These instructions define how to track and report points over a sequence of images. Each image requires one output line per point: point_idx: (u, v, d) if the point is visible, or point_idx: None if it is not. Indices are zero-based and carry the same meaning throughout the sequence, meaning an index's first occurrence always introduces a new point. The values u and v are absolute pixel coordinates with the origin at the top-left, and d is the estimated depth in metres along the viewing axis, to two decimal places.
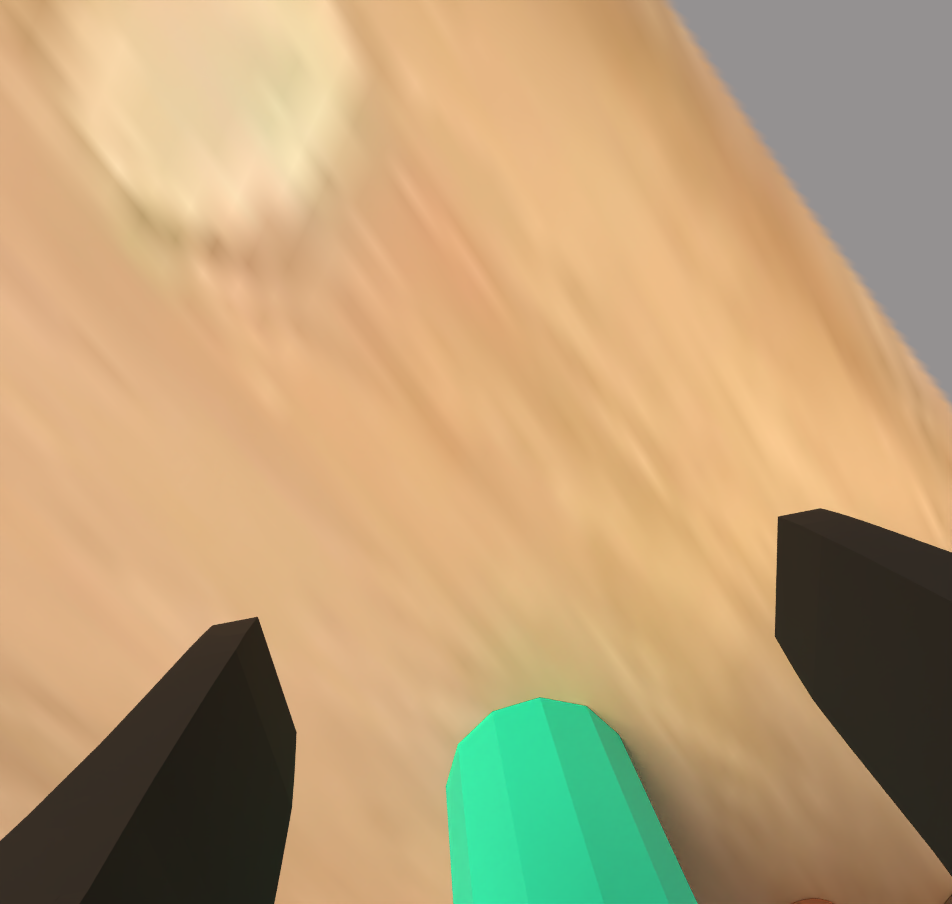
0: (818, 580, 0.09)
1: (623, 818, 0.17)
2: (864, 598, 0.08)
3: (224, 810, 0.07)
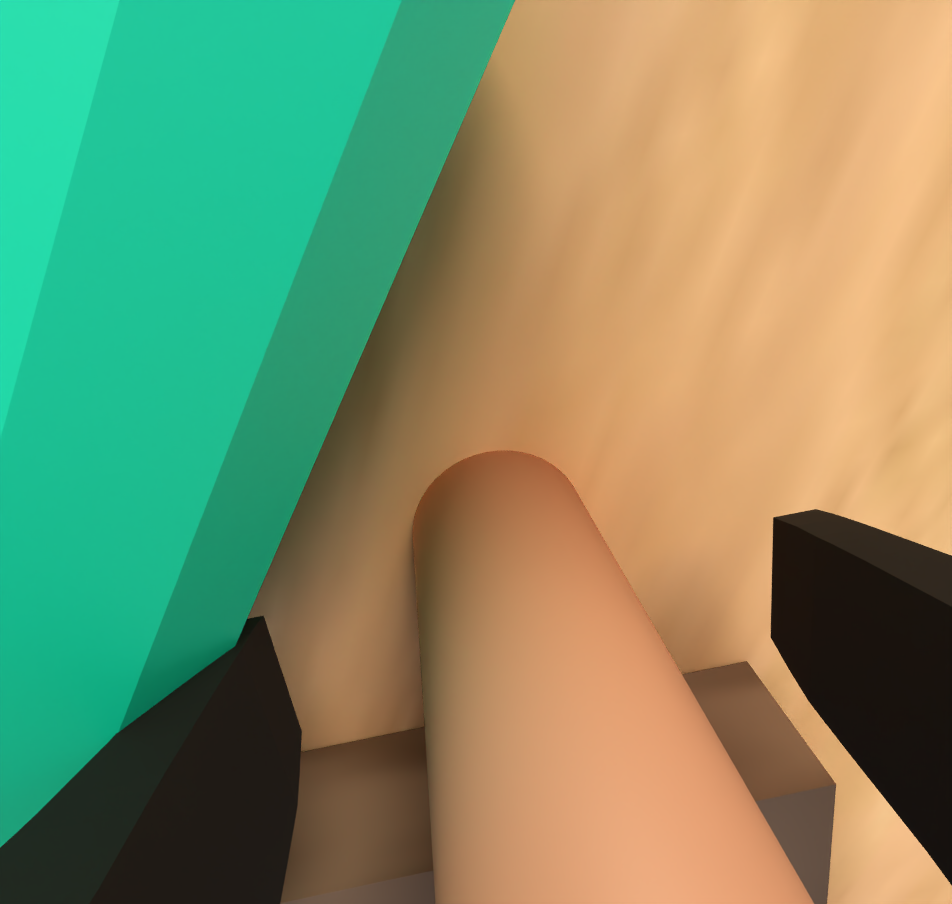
0: (813, 581, 0.09)
1: (220, 378, 0.05)
2: (858, 599, 0.08)
3: (232, 808, 0.07)
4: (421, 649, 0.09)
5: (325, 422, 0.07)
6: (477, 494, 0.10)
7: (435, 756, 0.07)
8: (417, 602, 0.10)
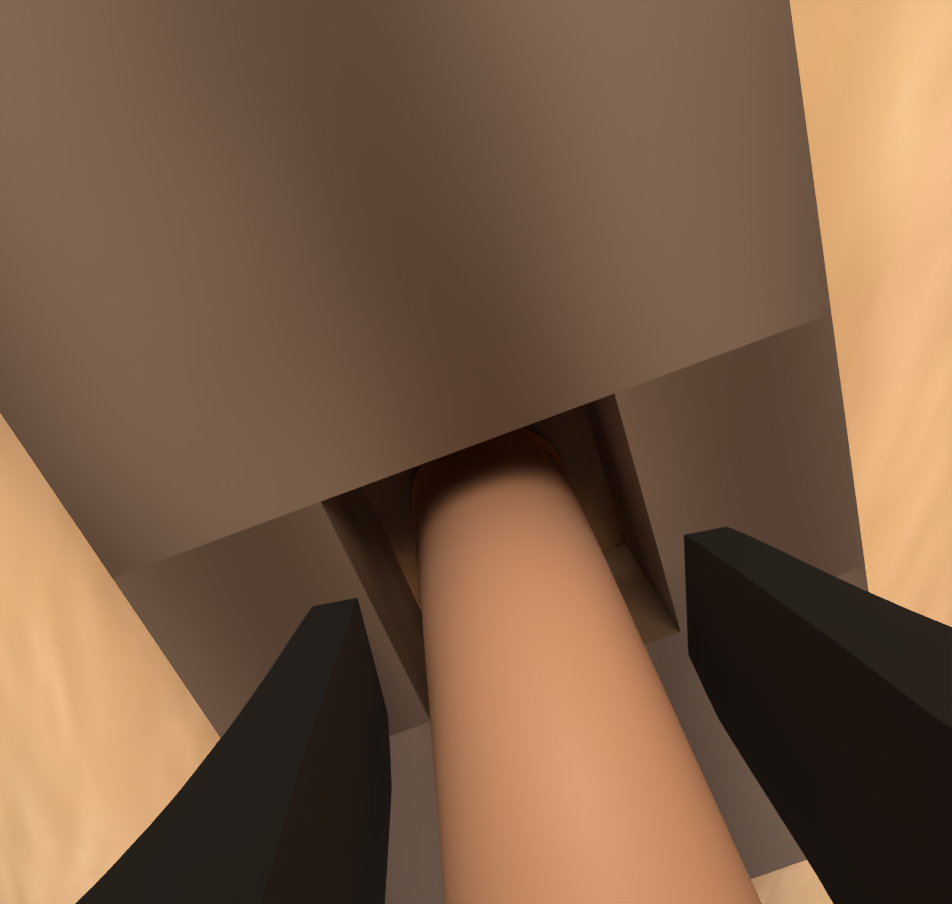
0: (716, 600, 0.08)
1: None
2: (751, 621, 0.08)
3: (350, 784, 0.07)
4: (423, 609, 0.10)
5: None
6: (472, 469, 0.11)
7: (437, 705, 0.08)
8: (418, 563, 0.11)
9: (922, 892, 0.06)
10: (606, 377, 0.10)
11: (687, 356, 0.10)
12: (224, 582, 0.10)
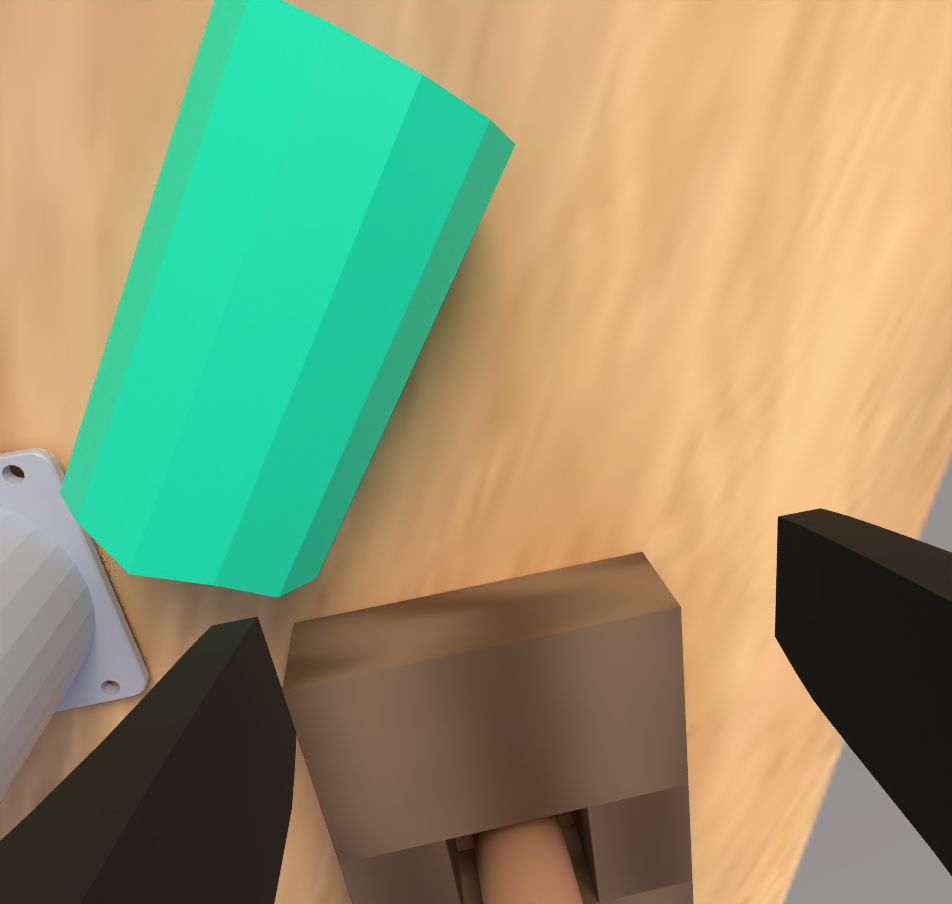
0: (818, 580, 0.09)
1: (367, 367, 0.13)
2: (864, 598, 0.08)
3: (225, 810, 0.07)
4: (484, 878, 0.21)
5: (399, 390, 0.15)
6: None
7: None
8: (477, 845, 0.23)
9: None
10: (585, 801, 0.21)
11: (622, 796, 0.21)
12: (389, 869, 0.21)
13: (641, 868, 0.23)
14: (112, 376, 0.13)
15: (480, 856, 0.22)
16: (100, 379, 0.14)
